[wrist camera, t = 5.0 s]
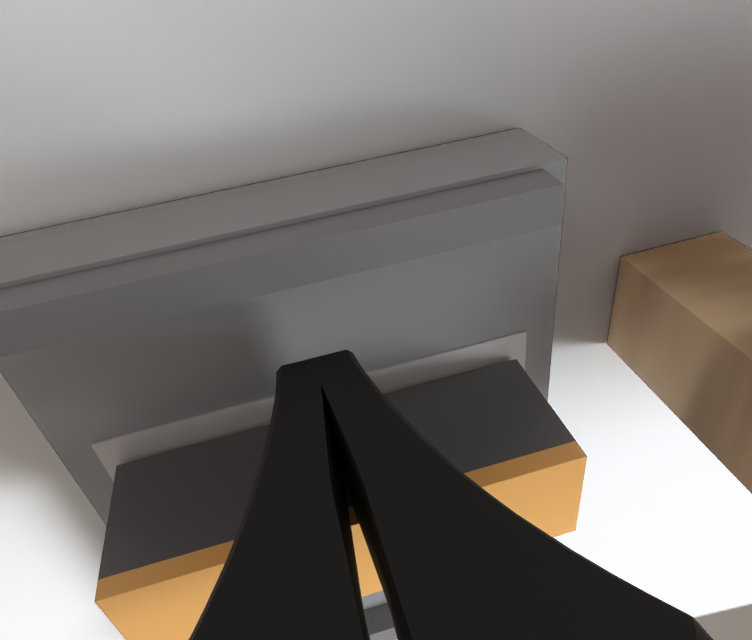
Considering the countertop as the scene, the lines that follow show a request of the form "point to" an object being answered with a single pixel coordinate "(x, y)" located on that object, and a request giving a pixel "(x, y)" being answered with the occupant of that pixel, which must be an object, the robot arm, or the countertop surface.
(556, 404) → the countertop surface
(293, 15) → the countertop surface
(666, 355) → the oak post
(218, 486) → the breaker toggle
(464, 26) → the countertop surface
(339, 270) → the box
